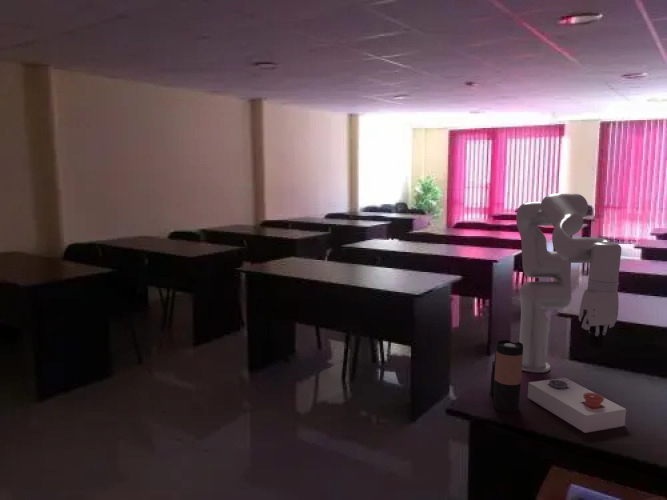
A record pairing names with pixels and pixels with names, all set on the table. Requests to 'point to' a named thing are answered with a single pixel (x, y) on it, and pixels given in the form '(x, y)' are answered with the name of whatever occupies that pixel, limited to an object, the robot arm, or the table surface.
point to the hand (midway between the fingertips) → (595, 347)
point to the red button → (593, 400)
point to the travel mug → (508, 375)
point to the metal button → (558, 384)
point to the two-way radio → (493, 375)
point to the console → (576, 406)
